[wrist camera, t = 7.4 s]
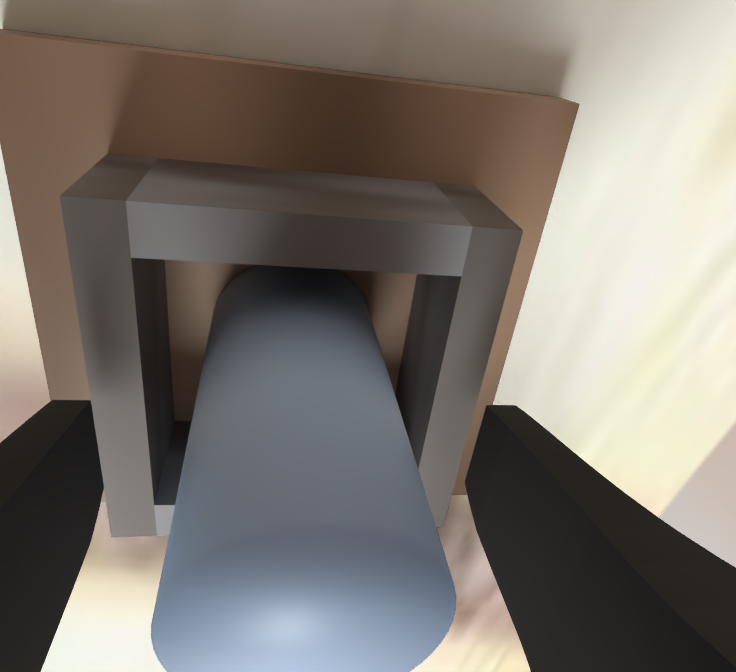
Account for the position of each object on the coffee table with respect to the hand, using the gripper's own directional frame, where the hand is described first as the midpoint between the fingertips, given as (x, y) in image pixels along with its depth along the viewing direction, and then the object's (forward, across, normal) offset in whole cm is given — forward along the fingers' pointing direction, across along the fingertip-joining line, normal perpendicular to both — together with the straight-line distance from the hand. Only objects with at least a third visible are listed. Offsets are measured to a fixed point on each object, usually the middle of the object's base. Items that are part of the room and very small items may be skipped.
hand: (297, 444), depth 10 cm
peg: (+4, 0, 0) cm, 4 cm away
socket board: (+5, 0, 0) cm, 5 cm away
